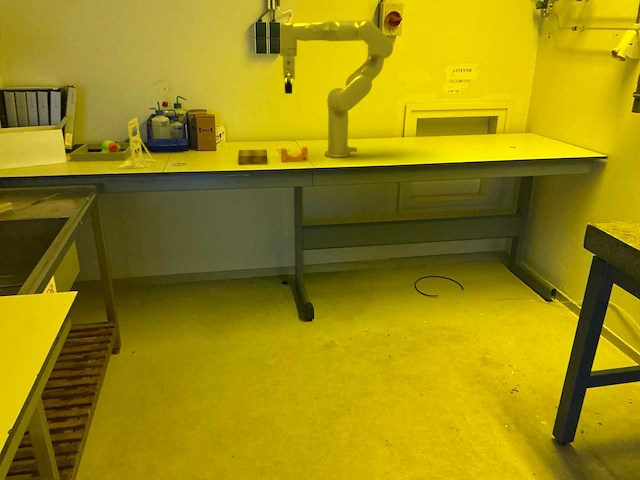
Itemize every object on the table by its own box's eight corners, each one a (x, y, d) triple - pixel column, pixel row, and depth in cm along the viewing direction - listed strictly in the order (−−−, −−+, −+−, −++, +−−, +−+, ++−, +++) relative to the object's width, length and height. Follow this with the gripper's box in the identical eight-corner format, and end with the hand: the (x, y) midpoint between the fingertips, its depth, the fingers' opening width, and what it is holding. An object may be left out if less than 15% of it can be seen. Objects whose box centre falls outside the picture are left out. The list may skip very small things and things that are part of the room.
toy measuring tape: (125, 152, 255) (123, 139, 252) (91, 160, 239) (89, 146, 237) (116, 151, 258) (114, 138, 255) (82, 158, 242) (80, 144, 240)
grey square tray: (136, 149, 261) (135, 142, 260) (125, 160, 239) (124, 152, 237) (87, 150, 258) (86, 143, 257) (71, 161, 236) (69, 153, 235)
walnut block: (267, 157, 246) (266, 149, 245) (267, 164, 234) (267, 155, 233) (239, 158, 245) (239, 149, 243) (238, 164, 233) (238, 155, 231)
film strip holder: (125, 161, 237) (119, 117, 230) (155, 161, 238) (150, 117, 231) (115, 168, 224) (109, 122, 217) (148, 168, 225) (142, 122, 218)
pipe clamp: (305, 159, 245) (305, 145, 242) (307, 161, 241) (307, 147, 238) (280, 160, 242) (280, 147, 239) (282, 162, 238) (282, 149, 235)
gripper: (297, 53, 222) (297, 94, 228) (296, 52, 238) (295, 90, 244) (280, 53, 221) (280, 94, 228) (279, 52, 237) (280, 90, 244)
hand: (288, 92), depth 236 cm, fingers open, 9 cm apart
